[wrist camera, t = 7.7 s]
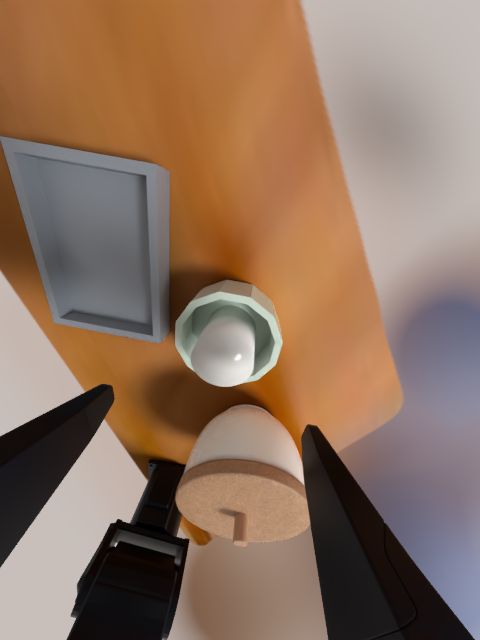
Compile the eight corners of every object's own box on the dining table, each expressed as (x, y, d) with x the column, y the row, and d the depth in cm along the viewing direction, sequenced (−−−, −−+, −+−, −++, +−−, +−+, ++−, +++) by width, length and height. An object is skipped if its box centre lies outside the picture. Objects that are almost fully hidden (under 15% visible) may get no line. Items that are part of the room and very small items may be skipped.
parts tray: (169, 332, 18) (160, 343, 16) (72, 314, 18) (54, 323, 17) (169, 171, 13) (156, 164, 11) (32, 146, 13) (-1, 136, 11)
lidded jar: (182, 419, 23) (137, 531, 15) (246, 370, 19) (235, 486, 11) (248, 462, 26) (242, 579, 17) (317, 427, 22) (353, 558, 13)
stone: (260, 311, 16) (260, 342, 12) (250, 352, 17) (247, 391, 13) (209, 301, 16) (192, 329, 12) (205, 343, 17) (189, 380, 13)
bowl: (266, 367, 19) (267, 392, 16) (187, 352, 19) (174, 374, 16) (288, 290, 15) (293, 305, 13) (191, 272, 15) (176, 283, 13)
